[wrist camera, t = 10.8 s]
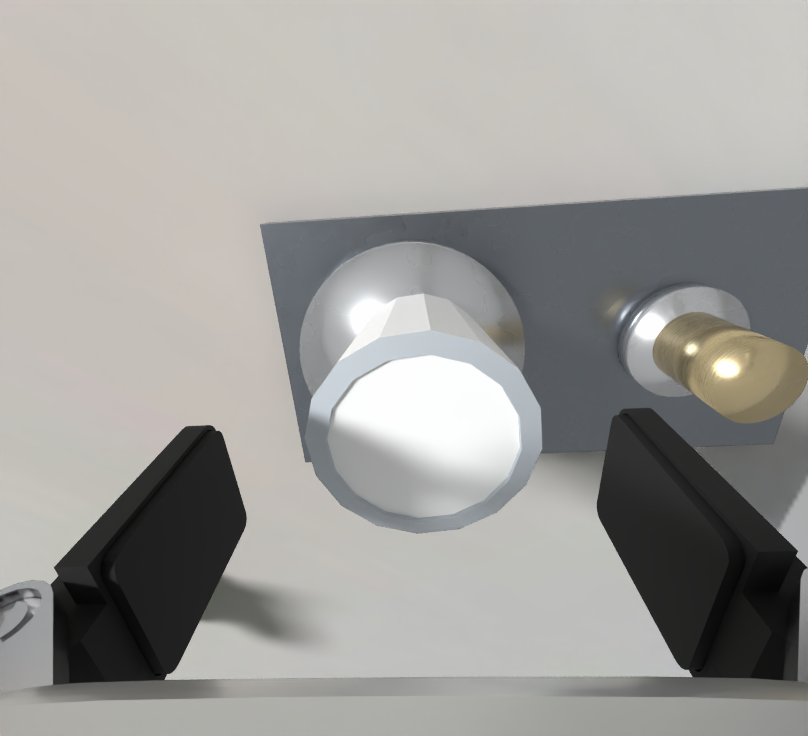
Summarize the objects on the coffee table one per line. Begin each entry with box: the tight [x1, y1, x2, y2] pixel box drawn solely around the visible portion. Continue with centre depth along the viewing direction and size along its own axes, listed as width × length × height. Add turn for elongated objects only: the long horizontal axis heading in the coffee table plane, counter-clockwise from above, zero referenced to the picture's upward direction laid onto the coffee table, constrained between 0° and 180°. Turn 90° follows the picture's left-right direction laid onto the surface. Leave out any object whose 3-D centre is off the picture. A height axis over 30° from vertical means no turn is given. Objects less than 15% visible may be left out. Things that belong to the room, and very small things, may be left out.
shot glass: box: [305, 293, 542, 534], centre depth 15 cm, size 7×7×7 cm
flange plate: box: [260, 187, 808, 462], centre depth 17 cm, size 12×24×6 cm, turn 94°
